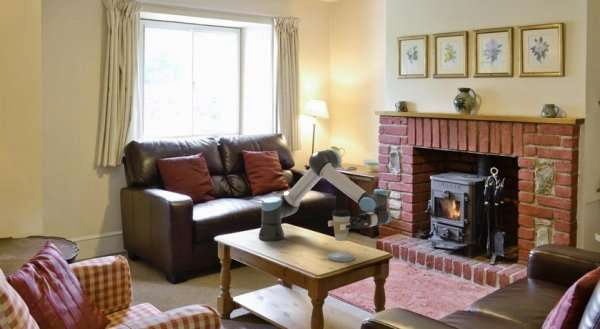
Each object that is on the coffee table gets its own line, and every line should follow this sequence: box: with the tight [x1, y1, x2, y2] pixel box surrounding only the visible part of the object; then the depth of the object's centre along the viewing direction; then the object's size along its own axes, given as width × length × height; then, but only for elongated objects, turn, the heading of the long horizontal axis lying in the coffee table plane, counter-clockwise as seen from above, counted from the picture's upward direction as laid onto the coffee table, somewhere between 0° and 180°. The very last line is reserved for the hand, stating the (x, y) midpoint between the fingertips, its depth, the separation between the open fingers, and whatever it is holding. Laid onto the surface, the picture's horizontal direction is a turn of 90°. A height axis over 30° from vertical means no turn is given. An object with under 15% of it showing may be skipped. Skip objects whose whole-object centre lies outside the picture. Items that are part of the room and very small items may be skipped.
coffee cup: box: [331, 209, 352, 242], centre depth 302 cm, size 10×10×15 cm
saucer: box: [327, 251, 355, 263], centre depth 304 cm, size 14×14×1 cm
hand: (334, 225), depth 299 cm, fingers closed on coffee cup, 9 cm apart
